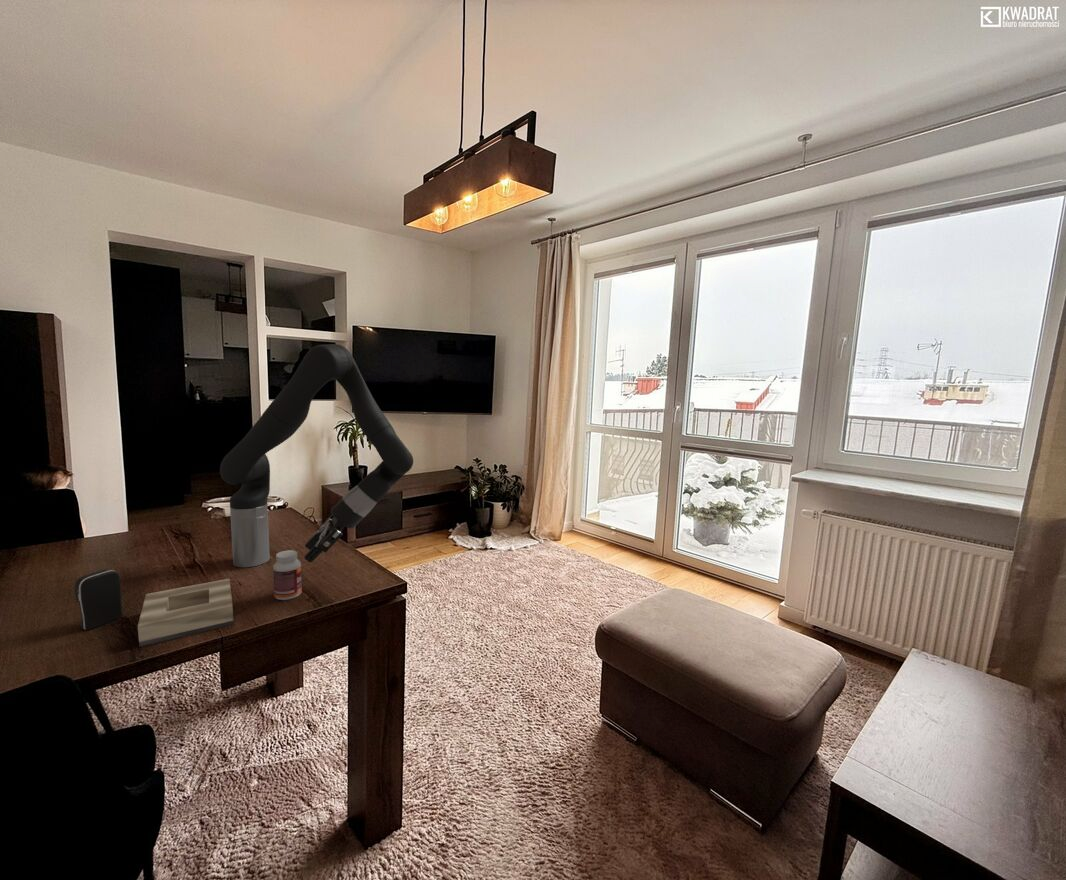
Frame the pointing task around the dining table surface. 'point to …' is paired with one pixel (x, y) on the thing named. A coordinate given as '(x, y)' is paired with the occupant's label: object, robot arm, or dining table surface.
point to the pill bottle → (287, 575)
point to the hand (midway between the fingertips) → (307, 553)
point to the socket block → (185, 611)
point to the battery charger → (98, 598)
